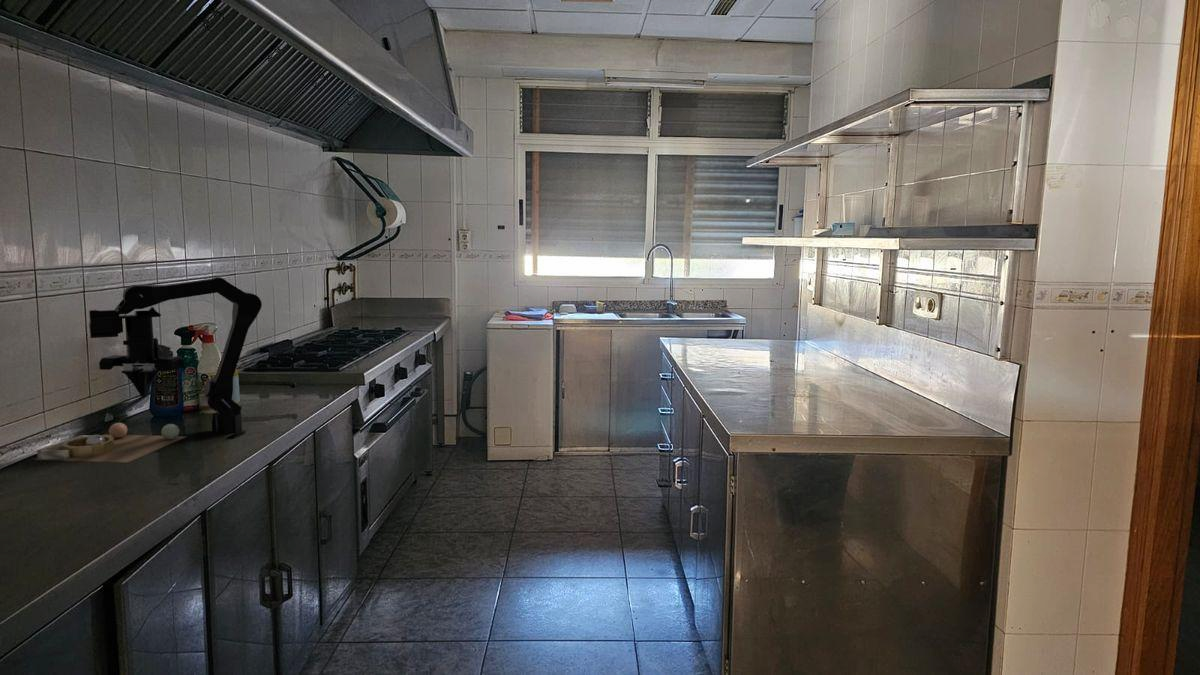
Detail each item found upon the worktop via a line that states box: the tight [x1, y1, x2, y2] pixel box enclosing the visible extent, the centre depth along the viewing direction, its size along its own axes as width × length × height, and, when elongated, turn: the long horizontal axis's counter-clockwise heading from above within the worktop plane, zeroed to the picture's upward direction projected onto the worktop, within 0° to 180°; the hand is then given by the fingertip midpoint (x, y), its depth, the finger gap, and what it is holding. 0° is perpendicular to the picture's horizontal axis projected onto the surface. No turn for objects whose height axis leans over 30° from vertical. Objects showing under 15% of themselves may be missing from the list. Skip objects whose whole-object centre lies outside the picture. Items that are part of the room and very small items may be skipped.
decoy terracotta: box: [108, 422, 128, 438], centre depth 189 cm, size 4×4×4 cm
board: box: [34, 433, 188, 463], centre depth 181 cm, size 23×22×3 cm
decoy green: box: [160, 423, 180, 440], centre depth 188 cm, size 4×4×4 cm
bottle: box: [232, 368, 241, 405], centre depth 231 cm, size 7×7×15 cm
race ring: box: [62, 436, 114, 458], centre depth 177 cm, size 10×10×2 cm
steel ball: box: [86, 434, 106, 446], centre depth 178 cm, size 4×4×4 cm
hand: (144, 396), depth 184 cm, fingers closed
